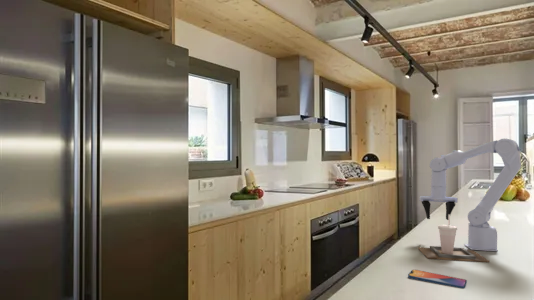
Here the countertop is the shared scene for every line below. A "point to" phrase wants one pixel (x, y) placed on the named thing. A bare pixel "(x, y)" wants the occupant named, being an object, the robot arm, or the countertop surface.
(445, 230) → the smoothie
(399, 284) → the countertop surface
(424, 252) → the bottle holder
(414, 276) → the smartphone
